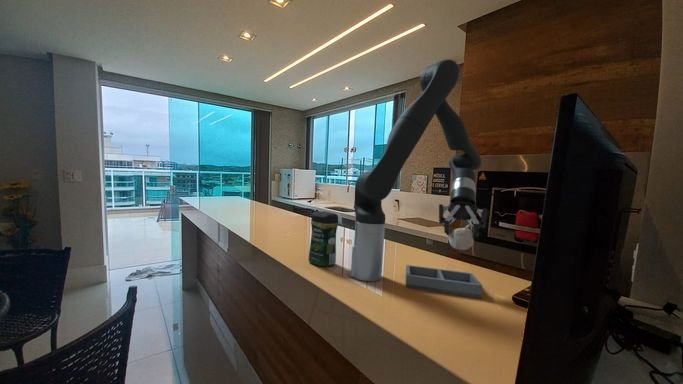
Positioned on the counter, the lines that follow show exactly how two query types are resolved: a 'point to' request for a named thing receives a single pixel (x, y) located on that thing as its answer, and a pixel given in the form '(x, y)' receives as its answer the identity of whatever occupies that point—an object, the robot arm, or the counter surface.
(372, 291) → the counter surface
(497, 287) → the counter surface
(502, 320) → the counter surface
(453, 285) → the tray
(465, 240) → the garlic bulb
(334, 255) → the coffee jar
